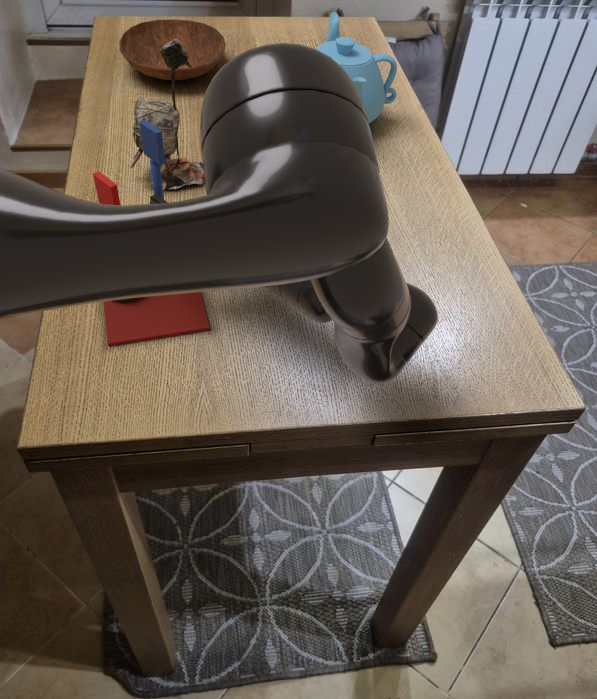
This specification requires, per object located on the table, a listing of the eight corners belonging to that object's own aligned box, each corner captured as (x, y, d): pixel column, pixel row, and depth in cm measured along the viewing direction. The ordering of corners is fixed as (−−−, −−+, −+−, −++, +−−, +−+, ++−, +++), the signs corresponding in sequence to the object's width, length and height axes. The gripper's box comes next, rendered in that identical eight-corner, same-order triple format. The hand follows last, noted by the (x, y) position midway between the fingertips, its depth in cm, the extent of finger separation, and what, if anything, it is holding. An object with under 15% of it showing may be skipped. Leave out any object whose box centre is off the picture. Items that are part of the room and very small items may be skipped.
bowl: (117, 96, 110) (113, 68, 107) (127, 42, 125) (124, 16, 121) (227, 97, 113) (227, 70, 109) (225, 45, 127) (224, 19, 123)
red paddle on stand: (121, 310, 75) (97, 200, 63) (94, 286, 78) (66, 177, 66) (158, 288, 78) (142, 180, 66) (131, 266, 80) (111, 158, 68)
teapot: (326, 87, 118) (334, 9, 107) (408, 127, 110) (425, 47, 99) (266, 115, 109) (269, 33, 99) (351, 161, 101) (363, 77, 91)
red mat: (108, 347, 72) (107, 343, 72) (101, 278, 79) (100, 275, 79) (210, 330, 75) (209, 327, 74) (193, 266, 82) (193, 262, 82)
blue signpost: (160, 251, 83) (145, 144, 71) (134, 231, 85) (116, 124, 73) (192, 234, 86) (183, 128, 74) (167, 215, 88) (155, 109, 76)
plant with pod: (140, 159, 98) (121, 28, 83) (211, 166, 98) (205, 36, 83) (127, 189, 92) (104, 54, 77) (202, 196, 92) (194, 62, 77)
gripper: (319, 199, 70) (223, 140, 76) (224, 254, 62) (128, 183, 69) (313, 250, 75) (225, 191, 82) (226, 306, 68) (137, 236, 75)
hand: (181, 188), depth 76 cm, fingers open, 8 cm apart
